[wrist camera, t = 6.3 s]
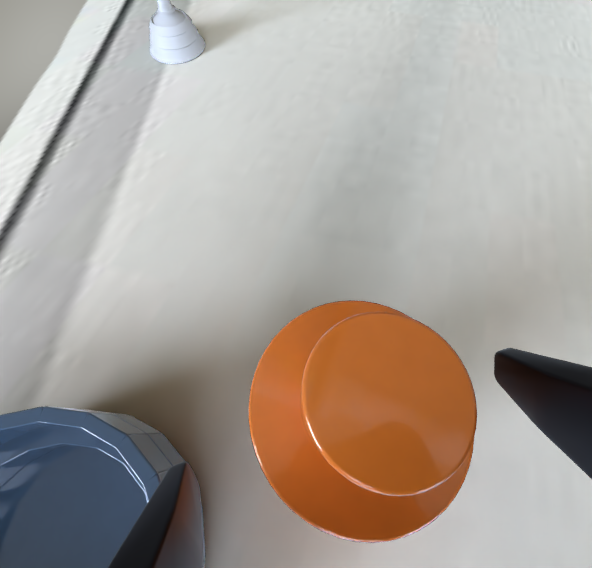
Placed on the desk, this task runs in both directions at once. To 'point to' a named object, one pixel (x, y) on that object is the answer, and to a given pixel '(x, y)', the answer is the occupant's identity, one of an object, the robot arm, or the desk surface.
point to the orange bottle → (362, 420)
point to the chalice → (173, 35)
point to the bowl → (75, 484)
